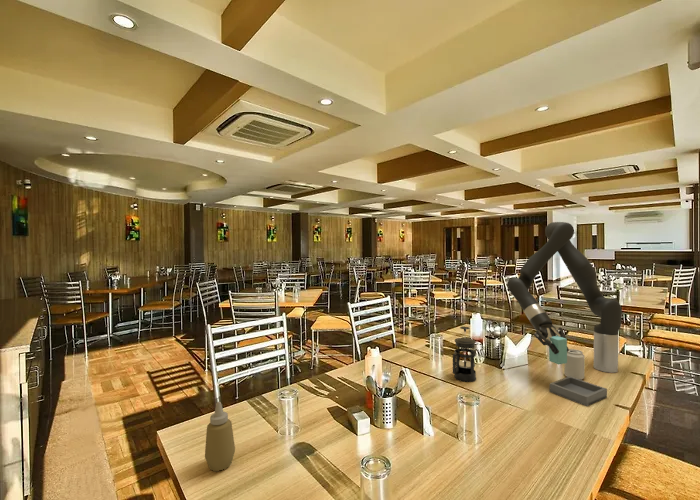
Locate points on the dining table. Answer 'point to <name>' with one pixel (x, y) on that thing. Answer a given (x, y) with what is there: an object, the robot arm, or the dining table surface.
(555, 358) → the green tall block
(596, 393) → the tray
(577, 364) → the can
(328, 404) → the dining table surface
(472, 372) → the french press
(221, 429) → the squeeze bottle
